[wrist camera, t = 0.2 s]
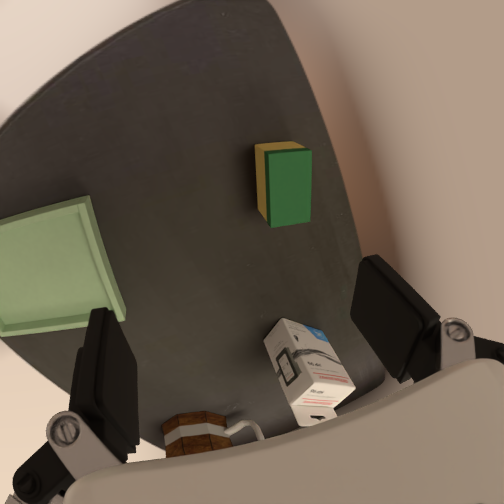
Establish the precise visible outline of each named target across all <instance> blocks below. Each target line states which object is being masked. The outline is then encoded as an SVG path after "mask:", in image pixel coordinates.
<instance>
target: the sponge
mask: <svg viewBox="0 0 504 504" xmlns="http://www.w3.org/2000/svg"><path fill="white" fill-rule="evenodd" d="M255 161H256V180H257V200H258V210H259V211H260V213H261V214H262V216H263V217H264V218H265V220H266V221H267V223H268V224H269V226H270V227H271V228H273V227H279V226H285V225H292V224H298V223H304V222H310V214H311V176H312V150H310V149H308V148H305V147H303V146H301V145H299V144H297V143H295V142H293V141H288V142H275V143H264V144H255Z"/></svg>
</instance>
